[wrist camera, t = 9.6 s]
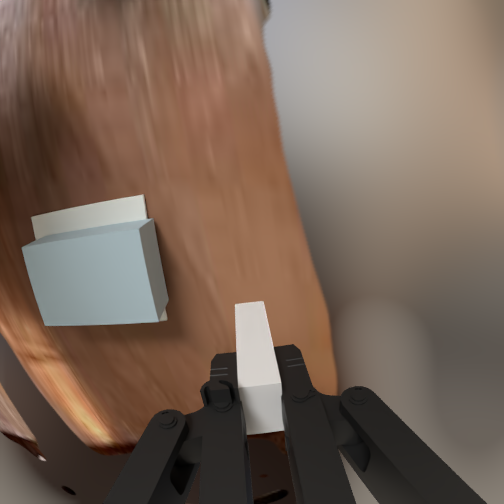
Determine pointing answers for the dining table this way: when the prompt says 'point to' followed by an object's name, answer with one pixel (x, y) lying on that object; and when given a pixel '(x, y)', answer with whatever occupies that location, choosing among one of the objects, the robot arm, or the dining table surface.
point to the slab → (98, 275)
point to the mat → (92, 218)
